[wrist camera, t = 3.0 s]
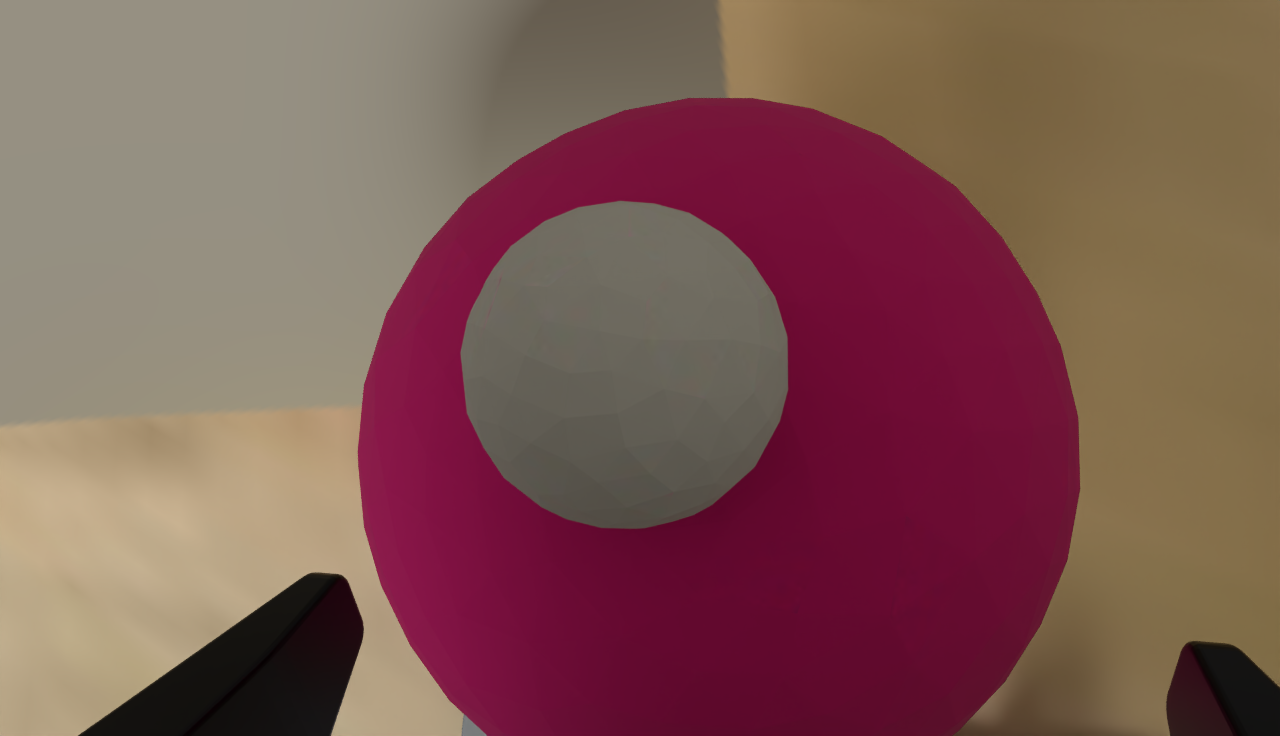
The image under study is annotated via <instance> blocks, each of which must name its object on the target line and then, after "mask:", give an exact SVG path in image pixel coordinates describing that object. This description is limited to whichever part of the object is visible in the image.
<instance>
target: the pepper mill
mask: <svg viewBox="0 0 1280 736" xmlns="http://www.w3.org/2000/svg"><path fill="white" fill-rule="evenodd" d="M358 467H359V478H360V488H361V499H362V510H363V520H364V528H365V532H366V535H367V538H368V542H369V545H370V549H371V552H372V556H373V559H374V563H375V566H376V569H377V573H378V576H379V580H380V583H381V586H382V588H383V590H384V592H385V594H386V596H387V598H388V600H389V603H390V605H391V607H392V609H393V611H394V613H395V615H396V617H397V619H398V621H399V623H400V625H401V627H402V629H403V631H404V633H405V635H406V637H407V640H408V642H409V644H410V646H411V647H412V648H413V650H414V651H415V653H416V654H417V655H418V657H419V658H420V660H421V661H422V663H423V664H424V665H425V667H426V668H427V670H428V671H429V672H430V674H431V675H432V677H433V678H434V679H435V681H436V682H437V684H438V685H439V686H440V688H441V689H442V691H443V692H444V693H445V695H446V696H447V698H448V699H449V700H450V701H451V702H452V703H453V704H454V705H455V706H456V707H457V708H458V709H459V710H460V711H461V712H462V713H464V714H465V715H466V716H467V717H468V718H469V719H470V720H471V721H472V722H473V723H474V724H475V725H476V726H477V727H479V728H480V729H481V730H482V731H483V732H484V733H485V734H486V735H487V736H952V735H954V734H955V733H956V732H958V731H959V730H960V729H961V728H962V727H963V726H964V725H965V724H966V722H967V721H968V720H969V719H970V718H971V717H972V716H973V715H974V714H975V713H976V712H977V711H978V710H979V709H980V708H981V707H982V705H983V704H984V703H985V702H986V701H987V700H988V699H989V698H990V697H991V696H992V695H993V694H994V693H995V692H996V691H997V690H998V688H999V687H1000V686H1001V685H1002V684H1003V683H1004V682H1005V681H1006V679H1007V677H1008V676H1009V674H1010V673H1011V671H1012V670H1013V668H1014V666H1015V665H1016V663H1017V662H1018V660H1019V658H1020V657H1021V655H1022V654H1023V652H1024V651H1025V649H1026V647H1027V646H1028V644H1029V643H1030V641H1031V639H1032V638H1033V636H1034V635H1035V633H1036V632H1037V630H1038V628H1039V627H1040V625H1041V623H1042V620H1043V618H1044V616H1045V613H1046V611H1047V608H1048V606H1049V603H1050V601H1051V599H1052V596H1053V594H1054V591H1055V589H1056V586H1057V584H1058V582H1059V579H1060V577H1061V574H1062V572H1063V569H1064V567H1065V565H1066V562H1067V559H1068V554H1069V548H1070V542H1071V537H1072V531H1073V526H1074V520H1075V514H1076V509H1077V503H1078V498H1079V492H1080V466H1079V427H1078V415H1077V410H1076V406H1075V402H1074V398H1073V394H1072V390H1071V386H1070V382H1069V378H1068V373H1067V369H1066V365H1065V361H1064V357H1063V353H1062V349H1061V346H1060V343H1059V341H1058V339H1057V337H1056V334H1055V332H1054V330H1053V328H1052V325H1051V323H1050V321H1049V319H1048V316H1047V314H1046V312H1045V310H1044V307H1043V305H1042V303H1041V301H1040V298H1039V296H1038V294H1037V292H1036V290H1035V289H1034V287H1033V286H1032V284H1031V283H1030V281H1029V279H1028V278H1027V276H1026V275H1025V273H1024V272H1023V270H1022V268H1021V267H1020V265H1019V264H1018V262H1017V260H1016V259H1015V257H1014V256H1013V254H1012V253H1011V251H1010V249H1009V248H1008V246H1007V245H1006V243H1005V242H1004V240H1003V238H1002V237H1001V236H1000V235H999V234H998V233H997V231H996V230H995V229H994V228H993V227H992V226H991V225H990V224H989V223H988V221H987V220H986V219H985V218H984V217H983V216H982V215H981V214H980V213H979V212H978V210H977V209H976V208H975V207H974V206H973V205H972V204H971V203H970V202H969V200H968V199H967V198H966V197H965V196H964V195H963V194H962V193H961V192H960V191H959V189H958V188H957V187H956V186H954V185H953V184H951V183H950V182H949V181H947V180H946V179H944V178H943V177H941V176H940V175H939V174H937V173H936V172H934V171H933V170H931V169H930V168H928V167H927V166H925V165H924V164H922V163H921V162H919V161H918V160H916V159H915V158H913V157H912V156H911V155H909V154H908V153H906V152H905V151H903V150H902V149H900V148H899V147H897V146H896V145H894V144H893V143H891V142H890V141H888V140H887V139H885V138H884V137H882V136H880V135H877V134H875V133H872V132H870V131H867V130H865V129H862V128H860V127H857V126H855V125H852V124H850V123H847V122H845V121H842V120H840V119H837V118H835V117H832V116H830V115H827V114H824V113H822V112H819V111H817V110H814V109H811V108H805V107H800V106H794V105H788V104H782V103H777V102H771V101H765V100H759V99H754V98H687V99H682V100H677V101H672V102H666V103H661V104H656V105H651V106H646V107H640V108H635V109H629V110H624V111H622V112H619V113H616V114H614V115H611V116H609V117H606V118H604V119H601V120H598V121H596V122H593V123H591V124H588V125H586V126H583V127H580V128H578V129H575V130H573V131H570V132H568V133H565V134H563V135H561V136H560V137H558V138H556V139H554V140H553V141H551V142H549V143H547V144H545V145H544V146H542V147H540V148H538V149H536V150H535V151H533V152H531V153H529V154H527V155H526V156H524V157H522V158H521V159H519V160H518V161H516V162H514V163H513V164H512V165H510V166H509V167H508V168H507V169H505V170H504V171H503V172H501V173H500V174H499V175H497V176H496V177H495V178H493V179H492V180H491V181H489V182H488V183H487V184H485V185H484V186H483V187H481V188H480V189H479V190H478V191H476V192H475V193H473V194H472V195H471V196H469V197H468V198H467V199H466V200H465V202H464V203H463V204H462V205H461V206H460V207H459V208H458V210H457V211H456V212H455V213H454V214H453V215H452V217H451V218H450V219H449V220H448V221H447V222H446V223H445V225H444V226H443V227H442V228H441V229H440V230H439V231H438V233H437V234H436V235H435V236H434V237H433V238H432V240H431V241H430V242H429V243H428V244H427V245H426V246H425V248H424V249H423V251H422V253H421V254H420V256H419V258H418V260H417V261H416V263H415V265H414V266H413V268H412V270H411V272H410V273H409V275H408V277H407V279H406V280H405V282H404V284H403V285H402V287H401V289H400V291H399V292H398V294H397V296H396V298H395V299H394V301H393V303H392V305H391V306H390V308H389V310H388V311H387V313H386V316H385V319H384V323H383V326H382V329H381V332H380V336H379V339H378V342H377V345H376V348H375V352H374V355H373V358H372V361H371V364H370V368H369V371H368V374H367V377H366V381H365V384H364V392H363V402H362V412H361V423H360V433H359V444H358Z"/></svg>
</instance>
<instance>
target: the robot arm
mask: <svg viewBox="0 0 1280 736" xmlns="http://www.w3.org/2000/svg"><path fill="white" fill-rule="evenodd" d="M363 633H364V627H363V620H362V617H361V615H360V612H359V609H358V607H357V604H356V601H355V599H354V596H353V593H352V591H351V588H350V585H349V583H348V581H347V579H346V578H344V577H343V576H342V575H339V574H330V573H310V574H307V575H305V576H304V577H302V578H301V579H299V580H298V581H296V582H295V583H294V584H292V585H291V586H289V587H288V588H287V589H285V590H284V591H282V592H281V593H279V594H278V595H277V596H275V597H274V598H272V599H271V600H270V601H268V602H267V603H265V604H264V605H262V606H261V607H260V608H258V609H257V610H255V611H254V612H253V613H251V614H250V615H248V616H247V617H245V618H244V619H243V620H241V621H240V622H238V623H237V624H236V625H234V626H233V627H231V628H230V629H228V630H227V631H226V632H224V633H223V634H221V635H220V636H219V637H217V638H216V639H214V640H213V641H211V642H210V643H209V644H207V645H206V646H204V647H203V648H201V649H200V650H199V651H197V652H196V653H194V654H193V655H192V656H190V657H189V658H187V659H186V660H184V661H183V662H182V663H180V664H179V665H177V666H176V667H175V668H173V669H172V670H170V671H169V672H167V673H166V674H165V675H163V676H162V677H160V678H159V679H158V680H156V681H155V682H153V683H152V684H150V685H149V686H148V687H146V688H145V689H143V690H142V691H141V692H139V693H138V694H136V695H135V696H133V697H132V698H131V699H129V700H128V701H126V702H125V703H124V704H122V705H121V706H119V707H118V708H116V709H115V710H114V711H112V712H111V713H109V714H108V715H107V716H105V717H104V718H102V719H101V720H99V721H98V722H97V723H95V724H94V725H92V726H91V727H90V728H88V729H87V730H85V731H84V732H82V733H81V734H80V735H78V736H331V733H332V730H333V727H334V724H335V721H336V718H337V715H338V712H339V709H340V706H341V703H342V700H343V697H344V694H345V691H346V688H347V685H348V682H349V679H350V676H351V674H352V671H353V668H354V665H355V662H356V659H357V656H358V653H359V650H360V647H361V644H362V640H363ZM1166 711H1167V720H1168V726H1169V731H1170V736H1280V687H1279V686H1278V685H1277V684H1276V683H1275V682H1274V681H1273V680H1271V679H1270V678H1269V677H1268V676H1267V675H1266V674H1265V673H1264V672H1263V671H1262V670H1261V669H1260V668H1259V667H1258V666H1257V665H1256V664H1255V663H1254V662H1253V661H1252V660H1251V659H1250V658H1249V657H1248V656H1247V655H1246V654H1244V653H1243V652H1242V651H1241V650H1240V649H1238V648H1237V647H1235V646H1233V645H1231V644H1225V643H1213V642H1201V641H1191V642H1188V643H1186V644H1185V645H1184V647H1183V649H1182V651H1181V653H1180V657H1179V660H1178V663H1177V666H1176V669H1175V672H1174V675H1173V678H1172V681H1171V685H1170V688H1169V691H1168V694H1167V701H1166Z"/></svg>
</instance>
